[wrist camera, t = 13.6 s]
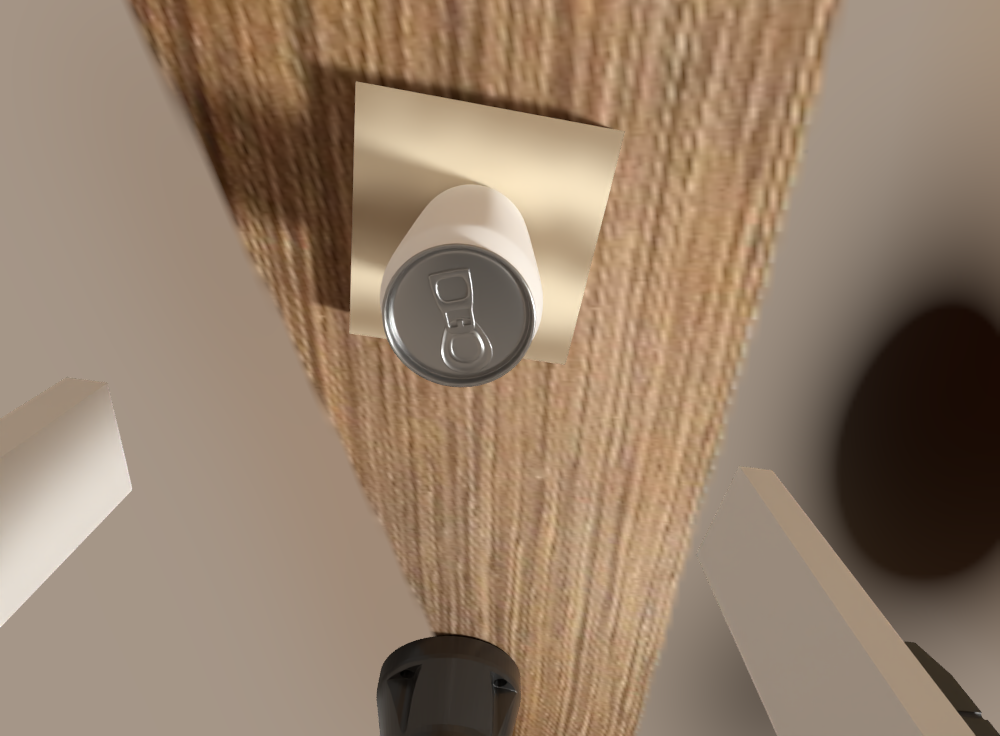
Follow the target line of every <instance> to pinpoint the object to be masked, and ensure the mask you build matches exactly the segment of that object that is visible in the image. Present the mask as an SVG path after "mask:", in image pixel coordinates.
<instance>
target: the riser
mask: <svg viewBox="0 0 1000 736" xmlns="http://www.w3.org/2000/svg"><path fill="white" fill-rule="evenodd" d="M624 133H625V131H620V130H615V129H610V128H604V127H599V126H594V125H588V124H583V123H578V122H572V121H567V120H561V119H556V118H551V117H545V116H540V115H535V114H529V113H524V112H519V111H513V110H508V109H502V108H497V107H492V106H486V105H481V104H476V103H470V102H465V101H459V100H454V99H449V98H443V97H438V96H433V95H427V94H422V93H417V92H411V91H406V90H400V89H395V88H390V87H384V86H379V85H374V84H368V83H362V82H357V81H356V85H355V126H354V168H353V209H352V250H351V291H350V332H349V333H350V334H357V335H364V336H371V337H378V338H384V339H387V337H386V335H385V331H384V327H383V321H382V313H381V307H380V288H381V283H382V278H383V275H384V272H385V269H386V267H387V264H388V262H389V261H390V259H391V257H392V255H393V253H394V252H395V250H396V249H397V247H398V246H399V244H400V243H401V241H402V240H403V238H404V237H405V235H406V234H407V233H408V231H409V230H410V228H411V227H412V225H413V224H414V223H415V221H416V220H417V218H418V217H419V216H420V214H421V213H422V211H423V210H424V209H425V207H426V206H427V205H428V204H429V203H430V202H431V201H432V200H433V199H434V198H435V197H436V196H437V195H439V194H440V193H442V192H444V191H446V190H448V189H450V188H452V187H456V186H460V185H468V184H474V185H482V186H486V187H489V188H492V189H494V190H496V191H498V192H500V193H501V194H503V195H504V196H506V197H507V198H508V199H509V200H510V201H511V202H512V203H513V204H514V205H515V206H516V207H517V209H518V210H519V212H520V213H521V215H522V217H523V219H524V222H525V224H526V227H527V230H528V234H529V237H530V241H531V244H532V248H533V252H534V256H535V259H536V263H537V267H538V271H539V275H540V280H541V285H542V292H543V310H542V317H541V321H540V325H539V327H538V330H537V332H536V334H535V336H534V338H533V340H532V342H531V344H530V347H529V349H528V350H527V352H526V354H525V355H524V357H523V358H522V359H529V360H536V361H542V362H549V363H556V364H563V365H565V364H566V360H567V356H568V352H569V348H570V345H571V341H572V337H573V333H574V329H575V325H576V321H577V317H578V313H579V309H580V305H581V302H582V298H583V294H584V290H585V286H586V282H587V278H588V274H589V270H590V266H591V262H592V259H593V255H594V251H595V247H596V243H597V239H598V235H599V231H600V227H601V223H602V219H603V216H604V212H605V208H606V204H607V200H608V196H609V192H610V188H611V184H612V180H613V176H614V173H615V169H616V165H617V161H618V157H619V153H620V149H621V145H622V141H623V137H624Z"/></svg>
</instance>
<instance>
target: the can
mask: <svg viewBox="0 0 1000 736" xmlns="http://www.w3.org/2000/svg"><path fill="white" fill-rule="evenodd" d="M380 307H381V313H382V321H383V327H384V331H385V335H386V337H387V340H388V342H389V344H390V346H391V348H392V350H393V351H394V353H395V354H396V355H397V357H398V358H399V359H400V360H401V361H402V362H403V363H404V364H405V365H406V366H407V367H408V368H409V369H410V370H412V371H413V372H414V373H416V374H417V375H419V376H421V377H423V378H425V379H427V380H429V381H431V382H434V383H437V384H441V385H445V386H451V387H472V386H478V385H482V384H486V383H489V382H491V381H494V380H496V379H498V378H500V377H502V376H503V375H505V374H506V373H508V372H509V371H510V370H512V369H513V368H514V367H515V366H516V365H517V364H518V363H519V362H520V361H521V359H522V358H523V357H524V355H525V354H526V352H527V350H528V349H529V347H530V344H531V342H532V340H533V338H534V336H535V334H536V332H537V330H538V327H539V325H540V321H541V317H542V310H543V292H542V285H541V280H540V275H539V271H538V267H537V263H536V259H535V256H534V252H533V248H532V244H531V241H530V237H529V234H528V230H527V227H526V224H525V222H524V219H523V217H522V215H521V213H520V212H519V210H518V209H517V207H516V206H515V205H514V204H513V203H512V202H511V201H510V200H509V199H508V198H507V197H506V196H504V195H503V194H501V193H500V192H498V191H496V190H494V189H492V188H489V187H486V186H482V185H474V184H468V185H460V186H456V187H452V188H450V189H448V190H446V191H444V192H442V193H440V194H439V195H437V196H436V197H435V198H434V199H433V200H432V201H431V202H430V203H429V204H428V205H427V206H426V207H425V209H424V210H423V211H422V213H421V214H420V216H419V217H418V218H417V220H416V221H415V223H414V224H413V225H412V227H411V228H410V230H409V231H408V233H407V234H406V235H405V237H404V238H403V240H402V241H401V243H400V244H399V246H398V247H397V249H396V250H395V252H394V253H393V255H392V257H391V259H390V261H389V262H388V264H387V267H386V269H385V272H384V275H383V278H382V283H381V288H380Z"/></svg>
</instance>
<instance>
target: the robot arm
mask: <svg viewBox="0 0 1000 736" xmlns="http://www.w3.org/2000/svg"><path fill="white" fill-rule="evenodd" d="M130 491H132V486H131V481H130V477H129V473H128V468H127V464H126V460H125V455H124V452H123V447H122V443H121V438H120V434H119V430H118V425H117V422H116V417H115V413H114V408H113V404H112V400H111V395H110V391H109V386H108V383H105V382H98V381H90V380H83V379H76V378H68V377H66V378H65V379H63V380H61V381H60V382H58V383H56V384H55V385H53V386H52V387H50V388H48V389H47V390H45V391H44V392H42V393H40V394H39V395H37V396H36V397H34V398H32V399H31V400H29V401H28V402H26V403H24V404H23V405H21V406H20V407H18V408H16V409H15V410H13V411H12V412H10V413H8V414H7V415H5V416H4V417H2V418H0V627H1V626H2V625H3V624H4V623H5V622H6V621H7V620H8V619H9V618H10V617H11V616H12V615H13V614H14V613H15V611H17V609H18V608H19V607H20V606H21V605H22V604H23V603H24V602H25V601H26V600H27V599H28V598H29V597H30V596H31V595H32V594H33V593H34V592H35V591H36V590H37V589H38V587H40V585H41V584H42V583H43V582H44V581H45V580H46V579H47V578H48V577H49V576H50V575H51V574H52V573H53V572H54V571H55V570H56V569H57V568H58V567H59V566H60V565H61V563H62V562H63V561H64V560H65V559H66V558H67V557H68V556H69V555H70V554H71V553H72V552H73V551H74V550H75V549H76V548H77V547H78V546H79V545H80V544H81V543H82V542H83V541H84V540H85V538H86V537H87V536H88V535H89V534H90V533H91V532H92V531H93V530H94V529H95V528H96V527H97V526H98V525H99V524H100V523H101V522H102V521H103V520H104V519H105V518H106V516H108V515H109V513H110V512H111V511H112V510H113V509H114V508H115V507H116V506H117V505H118V504H119V503H120V502H121V501H122V500H123V499H124V498H125V497H126V496H127V495H128V494H129V493H130ZM696 556H697V558H698V560H699V563H700V565H701V567H702V569H703V571H704V574H705V576H706V578H707V580H708V583H709V585H710V587H711V589H712V592H713V594H714V596H715V598H716V600H717V603H718V605H719V607H720V609H721V612H722V614H723V616H724V618H725V620H726V623H727V625H728V627H729V629H730V632H731V634H732V636H733V638H734V640H735V642H736V645H737V647H738V649H739V651H740V654H741V656H742V658H743V660H744V663H745V665H746V667H747V669H748V671H749V674H750V676H751V678H752V681H753V683H754V685H755V687H756V689H757V692H758V694H759V696H760V698H761V701H762V703H763V705H764V707H765V709H766V712H767V714H768V716H769V718H770V721H771V723H772V725H773V727H774V730H775V732H776V734H777V736H1000V735H999V733H998V732H997V731H996V730H995V729H994V727H993V726H992V725H991V724H990V722H989V721H988V720H984V719H983V718H982V716H981V711H980V710H979V709H978V707H977V706H976V705H975V704H974V703H973V701H972V700H971V699H970V697H969V696H968V695H967V694H966V692H965V691H964V690H963V689H962V688H961V686H960V685H959V684H958V683H957V681H956V680H955V679H954V678H953V676H952V675H951V674H950V673H949V672H947V671H946V670H945V669H944V668H943V667H942V666H940V664H938V663H937V662H936V661H935V660H934V659H933V658H932V657H930V656H929V655H928V654H927V653H926V652H925V651H924V650H923V649H921V648H920V647H919V646H918V645H917V644H916V643H913V642H904V641H903V640H902V639H901V638H900V636H899V635H898V634H897V632H896V631H895V630H894V629H893V627H892V626H891V625H890V623H889V622H888V621H887V619H886V618H885V617H884V615H883V614H882V613H881V612H880V610H879V609H878V608H877V606H876V605H875V604H874V602H873V601H872V600H871V598H870V597H869V596H868V595H867V593H866V592H865V591H864V589H862V587H861V585H860V584H859V583H858V582H857V580H856V579H855V578H854V576H853V575H852V574H851V573H850V571H849V570H848V569H847V567H846V566H845V565H844V563H843V562H842V561H841V559H840V558H839V557H838V555H837V554H836V553H835V551H834V550H833V549H832V548H831V546H830V545H829V544H828V542H827V541H826V540H825V538H824V537H823V536H822V535H821V533H820V532H819V531H818V530H817V528H816V527H815V525H814V524H813V523H812V522H811V520H810V519H809V518H808V516H807V515H806V514H805V512H804V511H803V510H802V508H801V507H800V506H799V504H798V503H797V502H796V501H795V499H794V498H793V497H792V495H791V494H790V493H789V491H788V490H787V489H786V488H785V487H784V485H783V484H782V482H781V481H780V480H779V478H778V477H777V476H776V475H775V473H774V472H773V471H772V470H766V469H759V468H751V467H743V466H739V468H738V470H737V472H736V474H735V476H734V478H733V480H732V482H731V484H730V486H729V488H728V490H727V493H726V494H725V496H724V498H723V500H722V502H721V505H720V506H719V508H718V511H717V513H716V515H715V517H714V519H713V521H712V523H711V525H710V527H709V529H708V531H707V533H706V535H705V537H704V539H703V541H702V543H701V545H700V547H699V549H698V551H697V554H696ZM520 700H521V687H520V673H519V670H518V667H517V665H516V664H515V662H514V661H513V660H512V659H511V658H510V657H509V656H508V655H507V654H506V653H505V652H503V651H502V650H500V649H499V648H497V647H495V646H493V645H491V644H488V643H486V642H483V641H480V640H476V639H472V638H466V637H459V636H437V637H429V638H424V639H420V640H416V641H413V642H411V643H408V644H406V645H404V646H402V647H400V648H398V649H397V650H395V651H394V652H393V653H392V654H391V655H389V657H388V658H387V659H386V660H385V662H384V664H383V666H382V669H381V673H380V678H379V683H378V688H377V707H378V716H379V728H380V736H512V734H513V730H514V726H515V722H516V718H517V714H518V710H519V707H520Z"/></svg>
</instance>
